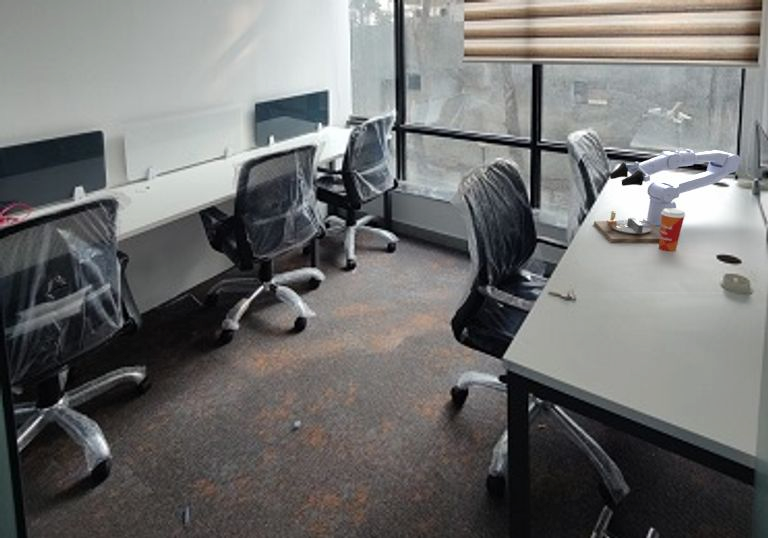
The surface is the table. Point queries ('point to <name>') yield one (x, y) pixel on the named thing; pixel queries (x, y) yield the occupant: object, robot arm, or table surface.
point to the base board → (628, 238)
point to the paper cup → (670, 228)
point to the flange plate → (629, 226)
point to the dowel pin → (613, 215)
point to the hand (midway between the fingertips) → (616, 179)
